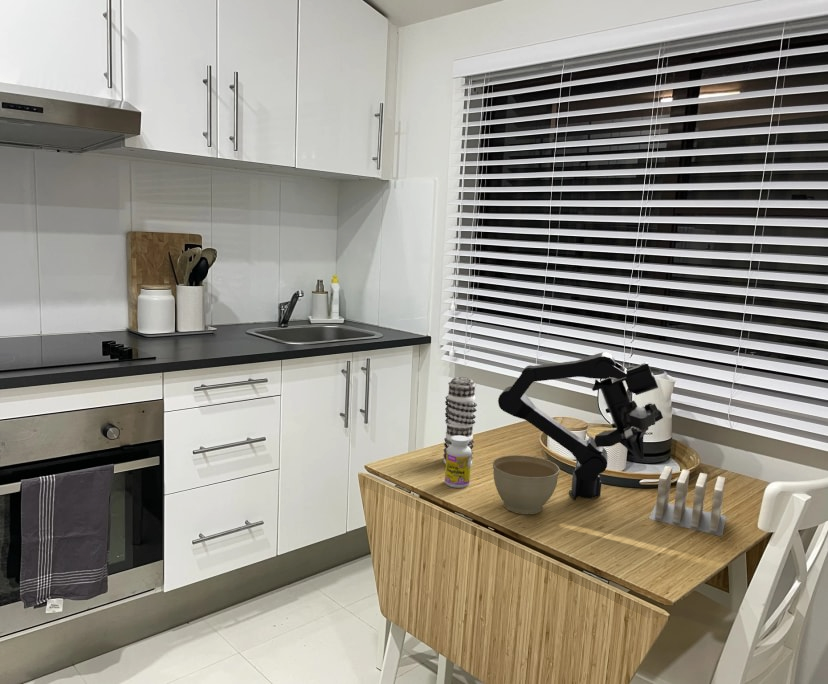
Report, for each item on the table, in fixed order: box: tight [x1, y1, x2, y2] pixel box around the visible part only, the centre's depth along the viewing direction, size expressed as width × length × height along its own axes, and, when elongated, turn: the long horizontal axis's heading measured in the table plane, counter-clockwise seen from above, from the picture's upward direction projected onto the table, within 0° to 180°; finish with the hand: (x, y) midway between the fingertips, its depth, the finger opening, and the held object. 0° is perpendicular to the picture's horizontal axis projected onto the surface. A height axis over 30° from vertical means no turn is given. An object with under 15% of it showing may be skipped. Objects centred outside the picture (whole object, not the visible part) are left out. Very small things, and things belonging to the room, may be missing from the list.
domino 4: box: [709, 475, 726, 532], centre depth 154 cm, size 2×10×10 cm, turn 151°
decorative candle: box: [442, 376, 478, 465], centre depth 190 cm, size 9×9×25 cm
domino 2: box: [673, 469, 691, 523], centre depth 158 cm, size 2×10×10 cm, turn 151°
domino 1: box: [655, 465, 673, 519], centre depth 160 cm, size 2×10×10 cm, turn 151°
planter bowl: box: [492, 454, 560, 515], centre depth 161 cm, size 16×16×11 cm
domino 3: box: [691, 472, 708, 528], centre depth 156 cm, size 2×10×10 cm, turn 151°
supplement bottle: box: [444, 435, 473, 489], centre depth 175 cm, size 7×7×13 cm
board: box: [648, 502, 727, 537], centre depth 158 cm, size 16×13×1 cm
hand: (641, 459), depth 164 cm, fingers closed
